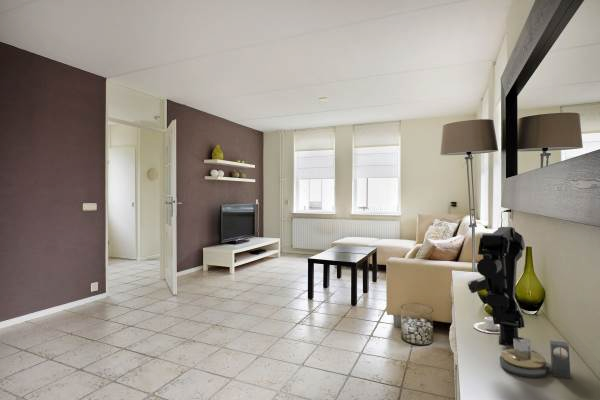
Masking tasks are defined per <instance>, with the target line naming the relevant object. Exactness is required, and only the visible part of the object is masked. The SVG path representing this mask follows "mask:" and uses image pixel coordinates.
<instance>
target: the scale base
mask: <svg viewBox="0 0 600 400" xmlns="http://www.w3.org/2000/svg"><path fill="white" fill-rule="evenodd" d="M549 347H550V362H551V363H550V365H551V373H552V376H553V377H559V378H564V379H565V378H566V379H572V378H571V376H572V375H571V362H570V347H569V344H568V343H567V342H565V341H557V340H549ZM499 365H500V366H499V367H500V368H502V369H503V370H504V371H505V372H507V373H509V374H511V375H514V376H517V377H522V378H526V379H544V378H546V377H548V376H549V374H550V368H549V363H548V362H547V361H546V366H545V367H543V368H540V369H527V368H521V367H517V366H514V365H511V364H509V363H507V362H506V361H504V360H503V359H502V354H501V355H500V356H499Z"/></svg>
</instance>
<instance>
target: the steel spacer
mask: <svg viewBox="0 0 600 400" xmlns="http://www.w3.org/2000/svg"><path fill="white" fill-rule="evenodd" d="M513 343H514V345H513V349H514V356H515V357H516V358H518V359H522V360H530V359H531V352H532V344H531V339H528V338H525V337H521V336H519V337H516V338H513Z"/></svg>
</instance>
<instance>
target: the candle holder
mask: <svg viewBox="0 0 600 400" xmlns="http://www.w3.org/2000/svg"><path fill="white" fill-rule="evenodd" d="M479 326H480V327H481V326H484V327H485V329H486V330H487V331H486V330H482V329H481V328H480V327H479ZM473 328H475V330H478V331H480V332H483V333H487V334H500V331H497V330H498V328H500V327H499V324H494V321H493V316H486V317H484V321H483V322H481V321H480V322H476V323H474V324H473Z"/></svg>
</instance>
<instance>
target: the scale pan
mask: <svg viewBox="0 0 600 400" xmlns="http://www.w3.org/2000/svg"><path fill="white" fill-rule="evenodd" d="M501 355H502V359H503V360H504V361H506V362H507V363H509V364H511V365H514V366H517V367H521V368H527V369H540V368H543V367H545V366H546V362H547V360H546V358H545V357H544V356H542V355H541V354H539V353H537V352H534V351H531V359H530V360H522V359H518V358H516V357H515V356H514V348H508V349H505V350H503V351H502V352H501Z"/></svg>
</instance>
